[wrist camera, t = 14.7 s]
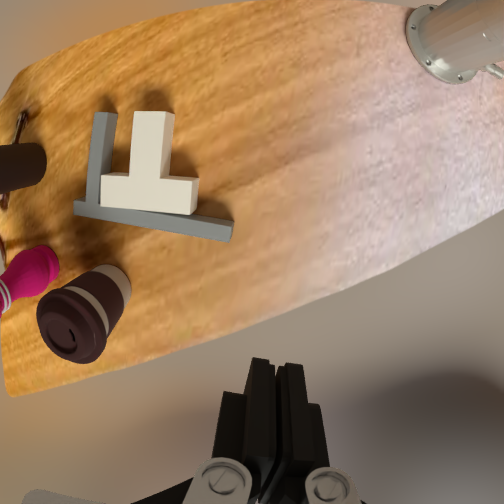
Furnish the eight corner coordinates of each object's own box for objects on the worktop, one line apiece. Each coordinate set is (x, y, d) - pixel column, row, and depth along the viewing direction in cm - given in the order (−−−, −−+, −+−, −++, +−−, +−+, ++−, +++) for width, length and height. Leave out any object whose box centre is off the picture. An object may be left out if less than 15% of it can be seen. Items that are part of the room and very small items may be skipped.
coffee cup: (78, 294, 46) (26, 343, 32) (93, 243, 43) (33, 283, 29) (129, 324, 47) (88, 384, 33) (149, 274, 44) (104, 329, 30)
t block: (205, 116, 37) (199, 112, 33) (196, 208, 41) (189, 215, 37) (119, 114, 37) (105, 111, 33) (113, 200, 41) (100, 206, 37)
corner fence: (250, 128, 37) (249, 127, 35) (231, 236, 42) (229, 242, 39) (93, 113, 37) (82, 111, 34) (84, 210, 41) (73, 214, 39)
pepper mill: (28, 239, 43) (-57, 286, 24) (60, 244, 43) (-27, 299, 24) (33, 279, 46) (-43, 335, 27) (64, 286, 46) (-12, 351, 27)
